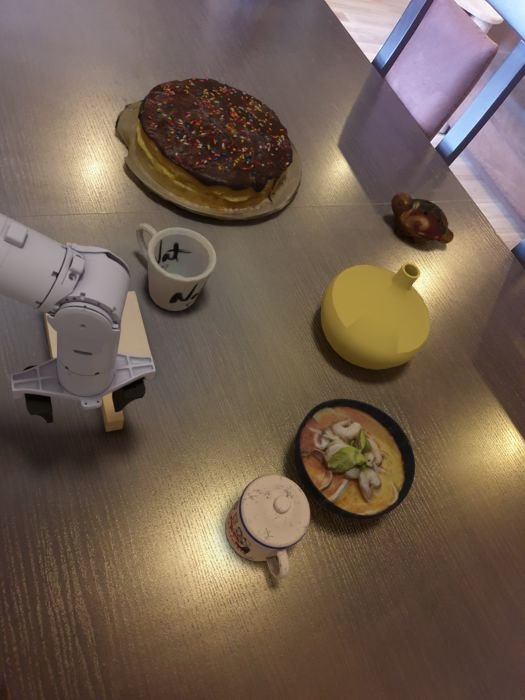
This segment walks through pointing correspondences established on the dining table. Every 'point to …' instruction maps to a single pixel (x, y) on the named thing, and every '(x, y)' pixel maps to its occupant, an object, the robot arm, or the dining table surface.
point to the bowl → (353, 459)
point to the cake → (210, 150)
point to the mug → (176, 265)
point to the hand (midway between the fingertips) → (83, 409)
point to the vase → (375, 316)
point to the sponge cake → (131, 331)
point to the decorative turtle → (420, 220)
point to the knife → (111, 414)
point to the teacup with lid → (268, 521)
